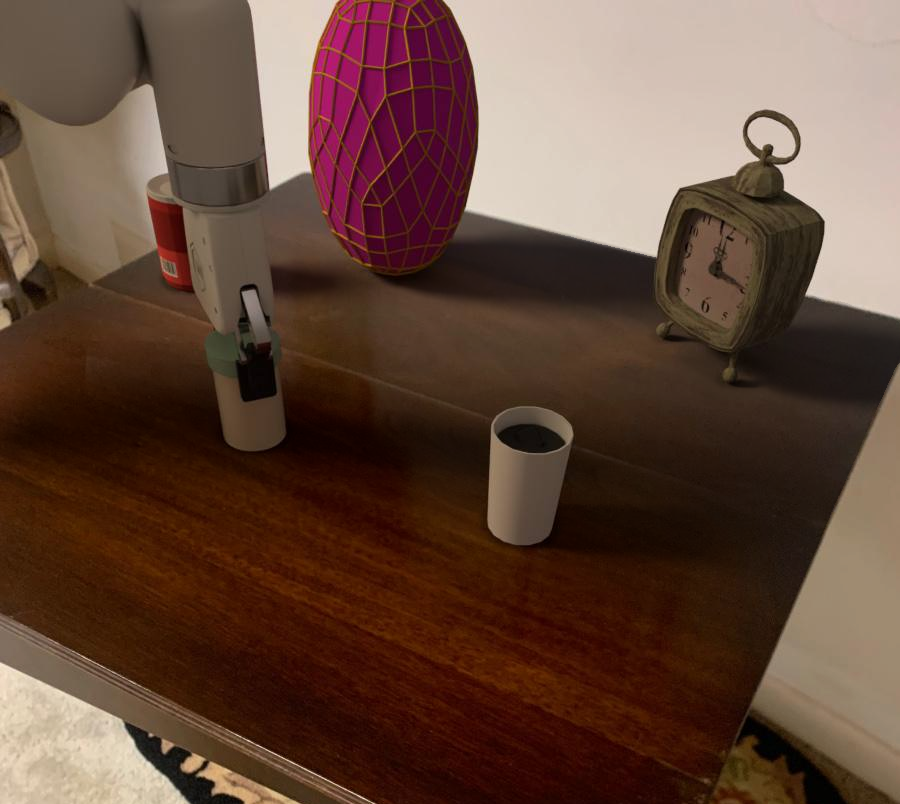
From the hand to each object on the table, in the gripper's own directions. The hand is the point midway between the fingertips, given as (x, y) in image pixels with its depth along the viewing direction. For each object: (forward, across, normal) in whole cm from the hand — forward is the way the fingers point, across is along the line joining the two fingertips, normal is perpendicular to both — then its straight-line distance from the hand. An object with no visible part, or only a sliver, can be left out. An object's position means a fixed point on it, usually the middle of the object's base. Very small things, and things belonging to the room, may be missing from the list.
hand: (247, 375), depth 81 cm
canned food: (+7, -33, +3) cm, 34 cm away
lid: (-3, 0, 0) cm, 3 cm away
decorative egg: (+7, -28, +26) cm, 39 cm away
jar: (+6, 0, 0) cm, 6 cm away
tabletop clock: (+7, +4, +52) cm, 52 cm away
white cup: (+7, +22, +18) cm, 29 cm away
